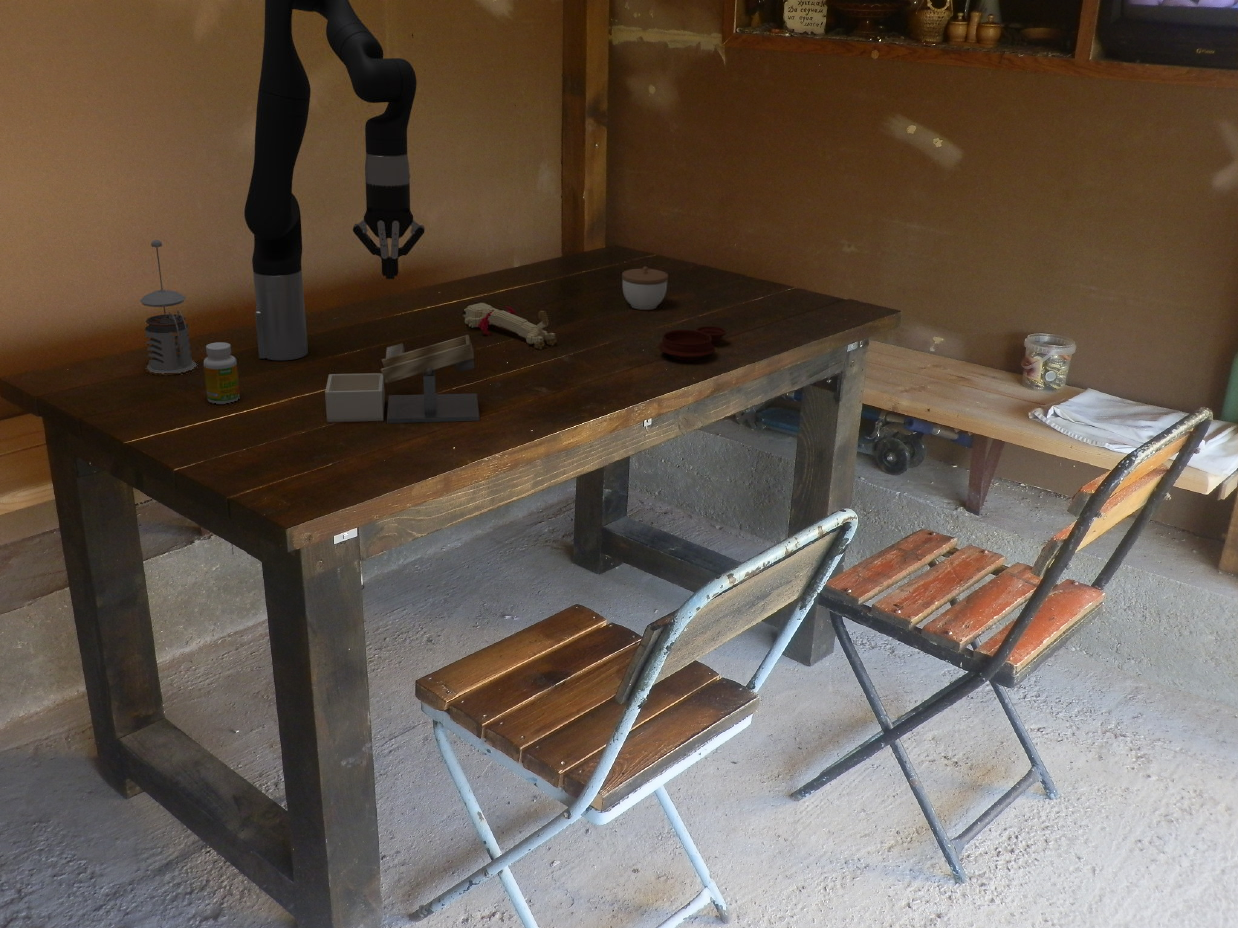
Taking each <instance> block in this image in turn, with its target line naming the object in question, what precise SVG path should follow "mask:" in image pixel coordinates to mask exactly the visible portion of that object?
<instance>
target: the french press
mask: <svg viewBox="0 0 1238 928" xmlns="http://www.w3.org/2000/svg"><path fill="white" fill-rule="evenodd" d="M150 246H151V247H152V248H156V257H157V265H158V274H159V281H160V290H159V289H158V290H155V291H152V292H150V293H148V294H145V295H144V296H143V297H142V298H141V299H140V301H139V302H140V303H141V304H142V305H143V306H145V307H149V308H150V307H152V308H163V313H164V314H158V315H157V314H156V315H153V316H151V317H149V318H148V317H147V318H146V320H145V323H146V324H147V325H146V326H145V327H144V331H145V339H149V338H150V339H149V340H147V341H146V346H148V347H147V352H150V351H151V352H150V353H148V358H149V360H148V365H146V367H147V369H148V370H149V371H150V372H154V373H162V374H164V373H181V372H186V371H188V370H192V369H194V367H196V366H197V365H198V364H197V363H196V361H194V360H193V359H192V351H191V350H192V349H191V343H190V342H191V341H190V332H189V325H188V324H187V322H186V317H185V316H183V314H182V311H180V310H179V309H177V314H173V312H171V311H169V312H168V314H166V313H167V312H166V307H173V306H177V305H180V304H182V303H184V301H185V300H186V298H187V297H186V296H185V295H183V294H182V293H180V292H177V291H174V290H169V289H163V288H164V287H163V282H162V281H163V280H162V273H161V264H160V255H159V248H161V247H163V243H162V241H160V240H159V239H154V240H152V241H151V243H150ZM176 333H177V335H175V334H176ZM176 340H177V341H176ZM149 345H150V346H149ZM177 353H179V354H177ZM150 358H151V359H150ZM196 364H197V365H196Z"/></svg>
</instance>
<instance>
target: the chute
mask: <svg viewBox="0 0 1238 928" xmlns="http://www.w3.org/2000/svg"><path fill="white" fill-rule="evenodd" d="M474 358H475V355H474V346H473V344H472V341H471V338H470V335H469V334H466V335H462V336H459V337H455V338H451V339H448V340H445V341H441V342H438V343H434V344H431V345H428V346H424V347H421V348H416V349H413V350H410V351H406V352H405V345H404V344H403V342H402V343H399V344H394V345H391V346H387V347H386V352H385V358H382V359H381V361H382V364H383V365H382V366H383V368H380V371H381V373H382V374H383V377H384V384H389V383H393V382H396V381H399V380H403V379H406V378H409V377H413V376H416V375H420V374H424V372H427V374H428V375H430V374H432V370H434V369H435V370H438V369H440V368H444V367H448V366H451V365H455V369H456V371H457V373H462V372H464V371H465V372H466V371H469V370H472V369H475V363H474Z"/></svg>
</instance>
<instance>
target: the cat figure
mask: <svg viewBox="0 0 1238 928" xmlns="http://www.w3.org/2000/svg"><path fill="white" fill-rule="evenodd" d="M505 308H506V309H508V310H506V311H505V310H500V309H497V308H494V307H493V306H492V305H490V304H487V303H485V302H479V303H475V304H470V305H468V306H467V307H466V308H464V309H463V311H462V314H463V315H462V316H463V317H464V323H465V324H466V325H468V327H471V328H472V329H474V328H479V329H480V330H481V331H482V332H483V334H485V335H486V336H491V334H490V332H489V330H488V329H489V325H490V326H491V325H493V326H496V327H498V328H504V329H505V330H507V331H511V332H513V333H514V334H515V333H516V334H517V335H518V336H519V337H522V338H524V339H525V341H526V342H527V344H530V345H533V344H534V345H533V347H534V348H536V349H537V350H542V349H543V348H544V347H545V345H548V346H551V347H552V346H554V345H555V344H556V343H557V341H558V338H556V333H553V332H549V333H548V332H547V330H544V328H546V327H547V326H549V325H550V319H549V316H548V315H547V313H546V311H544V310H539V311H538V312H537V316H538V319H540V322H539V323H538V324H537V325H536V324H534V323H531V322H529V321H528V320H527V319H525V318H523V317H520V316H517V315H515V313H516V311H515V310H514V309H513V308H512V307H511V306H508V305H507V306H505ZM545 341H546V343H545Z"/></svg>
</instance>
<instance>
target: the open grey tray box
mask: <svg viewBox="0 0 1238 928" xmlns="http://www.w3.org/2000/svg"><path fill="white" fill-rule="evenodd" d="M355 390H361V391H355ZM324 396H325V410H326V411H325V413H326V423H350V422H353V423H354V422H383V421H384V417H385V415H384V414H385V405H386V404H385V403H386V395H385V380H384V377H383V374H382V372H381V373H371V372H370V373H338V374H337V373H335V374H334V373H333V374H332V373H329V374H328V377H327V383H326V387H325V391H324Z"/></svg>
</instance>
